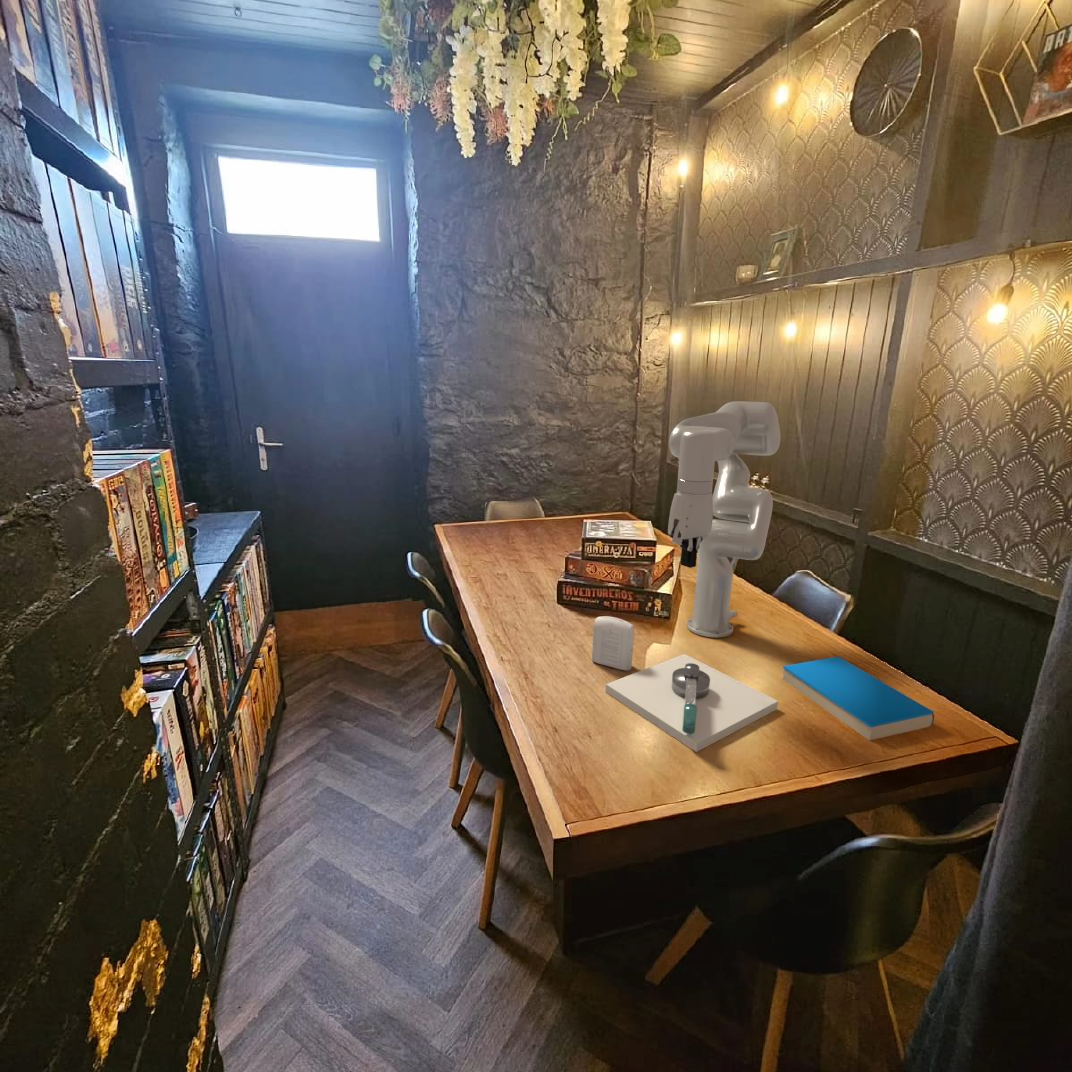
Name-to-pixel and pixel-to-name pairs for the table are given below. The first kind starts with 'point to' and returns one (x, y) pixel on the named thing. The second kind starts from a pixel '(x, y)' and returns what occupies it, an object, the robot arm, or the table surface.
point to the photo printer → (613, 642)
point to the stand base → (716, 712)
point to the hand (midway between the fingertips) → (688, 565)
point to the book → (857, 698)
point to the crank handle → (690, 692)
